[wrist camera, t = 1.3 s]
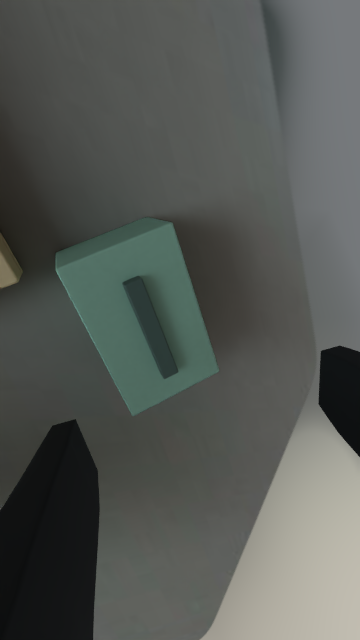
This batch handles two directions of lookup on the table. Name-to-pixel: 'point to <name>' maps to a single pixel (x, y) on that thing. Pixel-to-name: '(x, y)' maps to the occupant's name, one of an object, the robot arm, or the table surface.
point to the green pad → (140, 310)
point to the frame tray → (8, 265)
